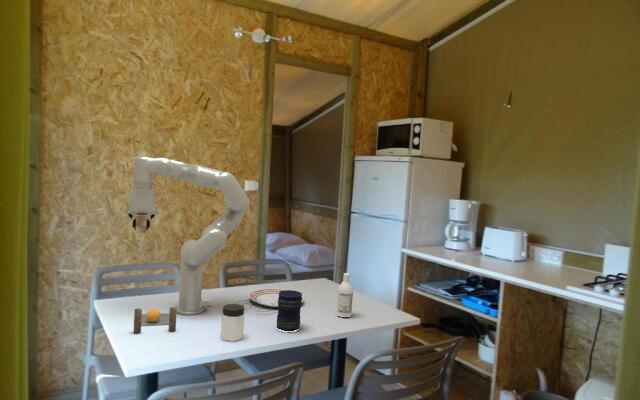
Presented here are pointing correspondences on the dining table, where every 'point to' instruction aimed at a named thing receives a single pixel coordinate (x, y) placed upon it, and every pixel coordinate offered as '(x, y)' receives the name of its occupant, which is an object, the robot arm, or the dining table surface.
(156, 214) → the robot arm
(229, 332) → the jar
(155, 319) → the ball
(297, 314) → the storage jar
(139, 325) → the left post
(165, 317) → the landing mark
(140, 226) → the block
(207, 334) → the dining table surface
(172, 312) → the right post
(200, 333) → the dining table surface
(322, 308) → the dining table surface
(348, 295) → the bath foam
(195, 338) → the dining table surface
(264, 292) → the dinner plate
